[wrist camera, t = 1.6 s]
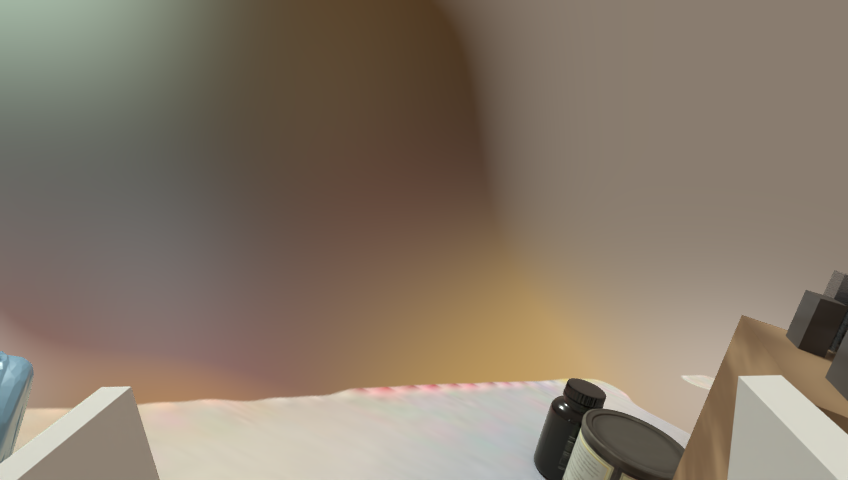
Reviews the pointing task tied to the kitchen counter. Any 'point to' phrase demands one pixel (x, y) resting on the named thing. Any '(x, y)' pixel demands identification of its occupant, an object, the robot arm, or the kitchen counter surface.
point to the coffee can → (621, 449)
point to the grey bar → (844, 291)
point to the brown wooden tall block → (771, 355)
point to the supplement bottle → (565, 426)
